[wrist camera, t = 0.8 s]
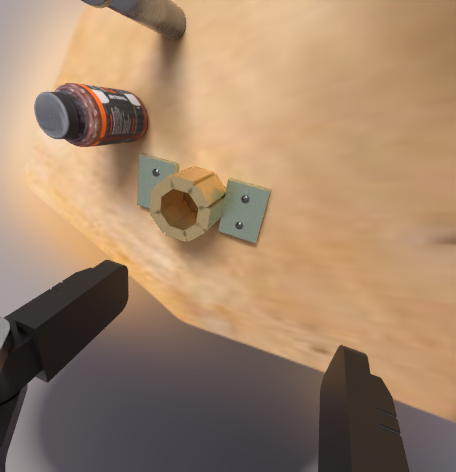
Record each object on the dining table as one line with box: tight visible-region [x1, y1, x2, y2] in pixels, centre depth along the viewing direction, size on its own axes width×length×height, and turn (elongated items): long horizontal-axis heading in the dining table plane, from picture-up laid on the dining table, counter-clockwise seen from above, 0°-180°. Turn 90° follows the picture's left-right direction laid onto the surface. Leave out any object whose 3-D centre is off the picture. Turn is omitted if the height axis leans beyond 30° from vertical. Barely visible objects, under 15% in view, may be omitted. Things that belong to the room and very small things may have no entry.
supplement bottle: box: [34, 83, 147, 147], centre depth 29 cm, size 6×6×11 cm
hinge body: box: [137, 154, 271, 243], centre depth 33 cm, size 7×18×6 cm, turn 78°
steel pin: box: [81, 0, 186, 40], centre depth 23 cm, size 4×4×12 cm
